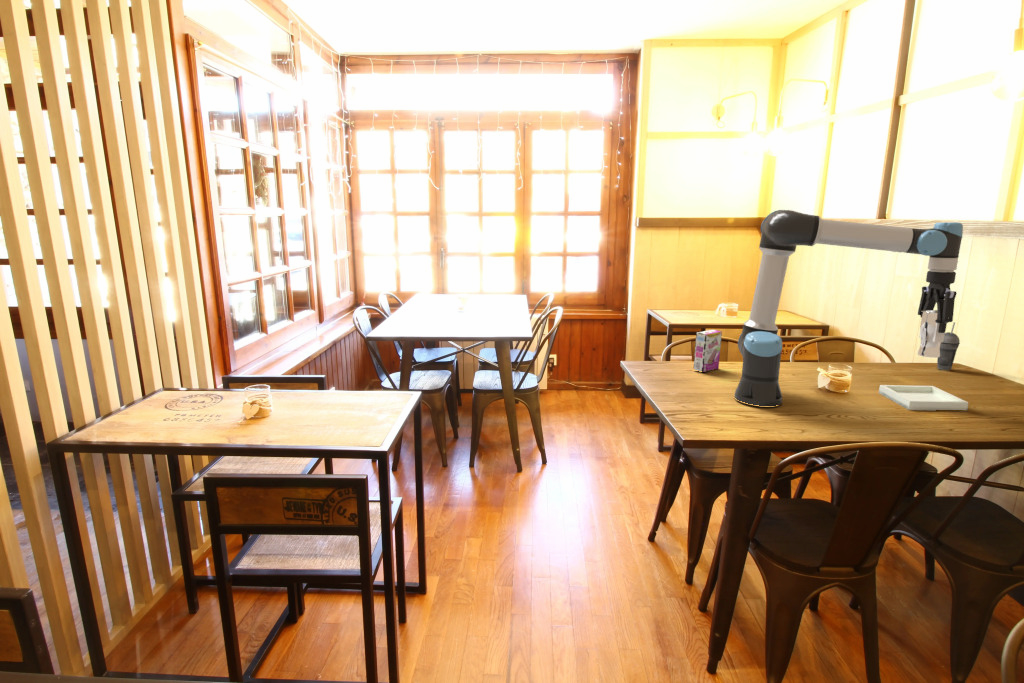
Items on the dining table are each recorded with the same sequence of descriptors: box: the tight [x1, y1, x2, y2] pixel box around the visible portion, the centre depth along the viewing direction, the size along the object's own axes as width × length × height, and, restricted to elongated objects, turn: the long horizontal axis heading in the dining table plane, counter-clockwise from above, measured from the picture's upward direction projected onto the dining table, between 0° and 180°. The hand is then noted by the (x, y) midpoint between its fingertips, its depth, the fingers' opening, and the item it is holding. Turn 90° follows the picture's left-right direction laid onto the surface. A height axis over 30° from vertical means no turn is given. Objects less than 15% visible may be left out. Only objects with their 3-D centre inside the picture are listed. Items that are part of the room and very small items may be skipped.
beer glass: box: [917, 309, 948, 359], centre depth 187 cm, size 7×7×15 cm
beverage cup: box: [936, 321, 961, 371], centre depth 229 cm, size 7×7×20 cm
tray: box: [878, 384, 969, 412], centre depth 192 cm, size 18×18×3 cm
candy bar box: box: [693, 329, 723, 373], centre depth 231 cm, size 11×5×16 cm, turn 126°
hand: (930, 339), depth 188 cm, fingers closed on beer glass, 7 cm apart
